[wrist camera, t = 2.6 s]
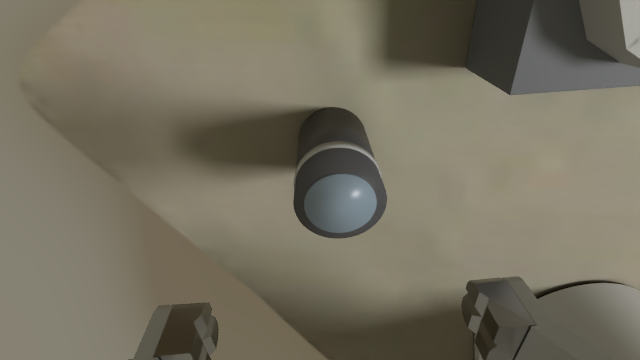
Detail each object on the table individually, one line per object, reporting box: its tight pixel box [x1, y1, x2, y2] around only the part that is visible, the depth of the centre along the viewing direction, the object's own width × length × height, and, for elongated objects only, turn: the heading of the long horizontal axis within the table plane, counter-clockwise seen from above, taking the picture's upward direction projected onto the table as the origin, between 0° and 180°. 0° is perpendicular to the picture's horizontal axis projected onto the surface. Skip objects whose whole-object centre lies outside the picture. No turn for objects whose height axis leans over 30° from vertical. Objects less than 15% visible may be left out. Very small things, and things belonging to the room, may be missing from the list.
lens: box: [294, 107, 387, 238], centre depth 18 cm, size 4×4×7 cm
